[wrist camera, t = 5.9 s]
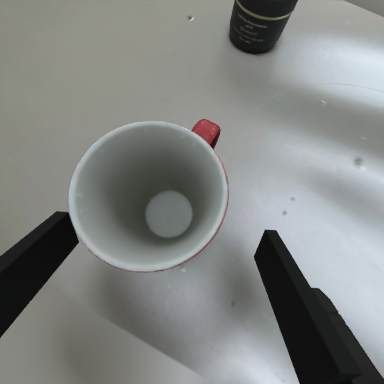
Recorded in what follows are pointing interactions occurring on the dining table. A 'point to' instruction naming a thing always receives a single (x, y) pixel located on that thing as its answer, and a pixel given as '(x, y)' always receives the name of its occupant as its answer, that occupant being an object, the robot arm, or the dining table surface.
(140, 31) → the dining table surface
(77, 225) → the mug
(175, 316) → the dining table surface
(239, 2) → the jar
